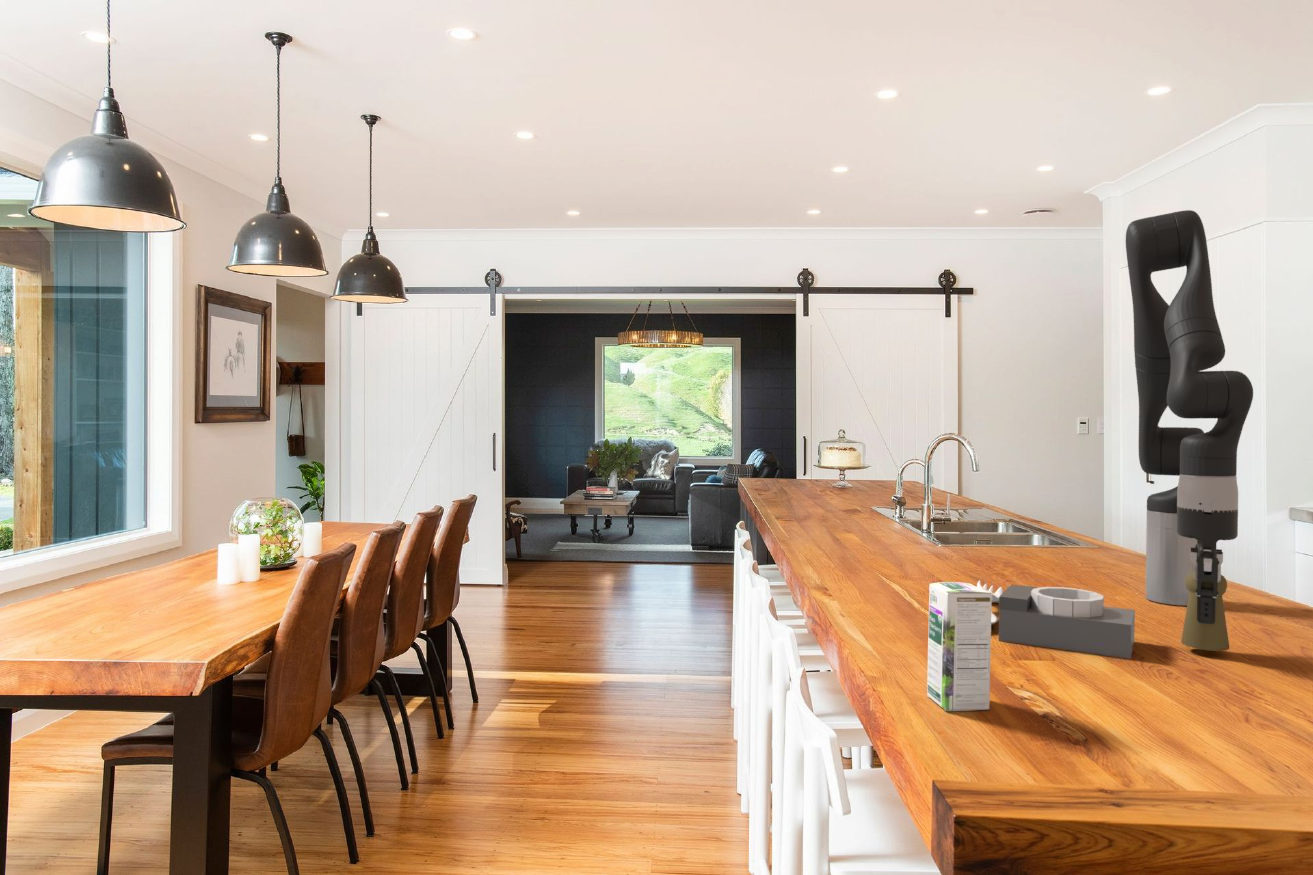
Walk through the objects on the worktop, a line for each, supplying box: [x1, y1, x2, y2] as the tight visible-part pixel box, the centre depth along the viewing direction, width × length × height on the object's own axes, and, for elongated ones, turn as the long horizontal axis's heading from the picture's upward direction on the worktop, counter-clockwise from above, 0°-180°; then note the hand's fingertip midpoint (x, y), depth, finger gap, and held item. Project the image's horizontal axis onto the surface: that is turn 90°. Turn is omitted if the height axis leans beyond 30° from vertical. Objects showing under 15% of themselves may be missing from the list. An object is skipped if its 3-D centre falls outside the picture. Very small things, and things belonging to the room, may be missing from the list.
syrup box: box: [926, 581, 993, 712], centre depth 100 cm, size 6×6×14 cm
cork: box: [1180, 572, 1230, 652], centre depth 121 cm, size 6×6×11 cm
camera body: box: [998, 584, 1136, 660], centre depth 127 cm, size 11×18×8 cm, turn 57°
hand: (1205, 618), depth 121 cm, fingers closed on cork, 4 cm apart
